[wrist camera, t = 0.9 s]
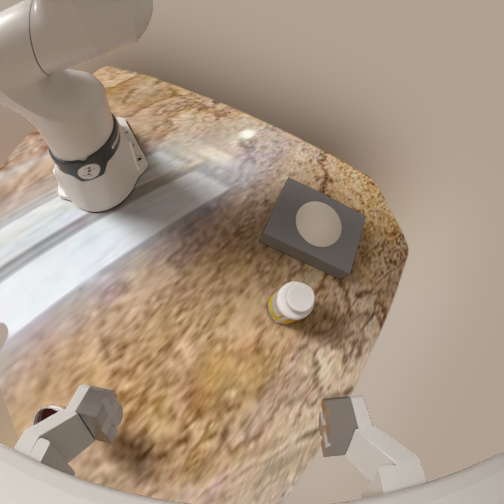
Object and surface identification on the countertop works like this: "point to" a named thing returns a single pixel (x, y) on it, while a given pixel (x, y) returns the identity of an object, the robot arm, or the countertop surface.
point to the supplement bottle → (291, 303)
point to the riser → (314, 229)
